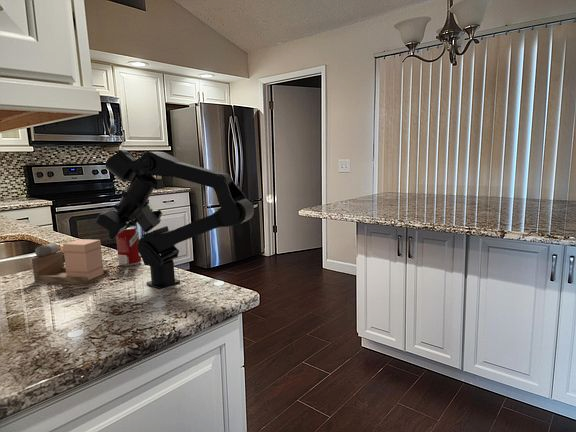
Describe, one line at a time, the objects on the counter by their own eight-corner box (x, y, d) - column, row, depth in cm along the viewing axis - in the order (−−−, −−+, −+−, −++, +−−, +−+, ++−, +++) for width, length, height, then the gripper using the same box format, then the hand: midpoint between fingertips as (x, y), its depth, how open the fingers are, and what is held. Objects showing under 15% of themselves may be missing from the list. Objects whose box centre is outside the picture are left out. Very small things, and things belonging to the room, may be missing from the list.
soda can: (126, 268, 116) (122, 230, 114) (114, 265, 120) (111, 228, 118) (145, 263, 122) (142, 226, 120) (134, 260, 126) (131, 224, 124)
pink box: (104, 273, 109) (100, 239, 107) (88, 280, 103) (84, 244, 101) (83, 272, 110) (79, 239, 109) (66, 279, 105) (62, 244, 103)
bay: (109, 274, 110) (105, 242, 109) (86, 285, 102) (82, 250, 100) (58, 271, 114) (55, 241, 113) (32, 281, 106) (28, 248, 104)
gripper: (149, 220, 90) (119, 268, 95) (176, 202, 108) (150, 242, 112) (109, 194, 89) (81, 243, 93) (143, 179, 107) (118, 221, 111)
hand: (111, 238), depth 103 cm, fingers closed
